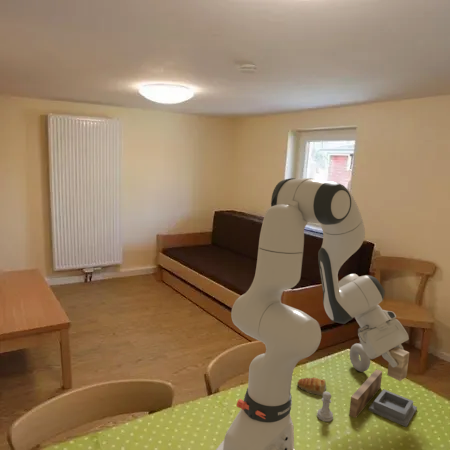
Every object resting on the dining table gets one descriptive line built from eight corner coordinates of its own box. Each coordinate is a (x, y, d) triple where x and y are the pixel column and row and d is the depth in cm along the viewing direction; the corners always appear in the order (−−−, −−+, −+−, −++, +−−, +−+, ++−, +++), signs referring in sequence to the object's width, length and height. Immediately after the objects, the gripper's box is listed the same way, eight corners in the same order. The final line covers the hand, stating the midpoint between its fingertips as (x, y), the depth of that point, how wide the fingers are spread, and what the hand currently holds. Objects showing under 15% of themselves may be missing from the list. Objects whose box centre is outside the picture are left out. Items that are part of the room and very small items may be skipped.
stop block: (400, 381, 112) (403, 356, 111) (387, 375, 115) (390, 350, 114) (406, 376, 115) (409, 352, 114) (393, 371, 118) (396, 347, 117)
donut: (370, 376, 135) (373, 350, 134) (362, 377, 134) (365, 351, 133) (354, 362, 145) (356, 338, 143) (346, 363, 144) (348, 339, 142)
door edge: (355, 418, 112) (357, 399, 111) (349, 414, 113) (351, 396, 112) (380, 387, 129) (382, 371, 128) (374, 385, 130) (376, 369, 129)
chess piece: (335, 421, 110) (338, 396, 109) (320, 422, 109) (322, 397, 108) (329, 411, 115) (331, 387, 113) (314, 412, 114) (316, 387, 113)
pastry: (296, 391, 124) (297, 381, 124) (298, 381, 131) (299, 370, 130) (325, 397, 122) (326, 386, 121) (326, 386, 128) (326, 376, 128)
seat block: (406, 427, 109) (407, 417, 109) (368, 410, 116) (369, 401, 116) (416, 409, 117) (417, 400, 117) (380, 395, 124) (381, 386, 124)
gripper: (363, 325, 111) (391, 370, 105) (396, 310, 124) (423, 350, 118) (348, 334, 115) (375, 378, 109) (382, 319, 128) (407, 357, 122)
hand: (400, 363), depth 114 cm, fingers closed on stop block, 4 cm apart
